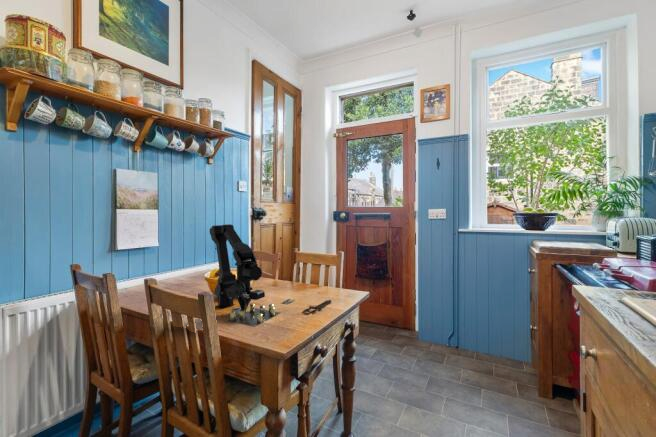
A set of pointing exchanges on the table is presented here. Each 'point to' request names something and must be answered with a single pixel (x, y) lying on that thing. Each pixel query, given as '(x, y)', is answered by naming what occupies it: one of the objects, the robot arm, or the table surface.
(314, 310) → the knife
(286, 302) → the pliers
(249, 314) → the spacer plate
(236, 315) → the nut
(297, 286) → the table surface
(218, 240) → the robot arm
